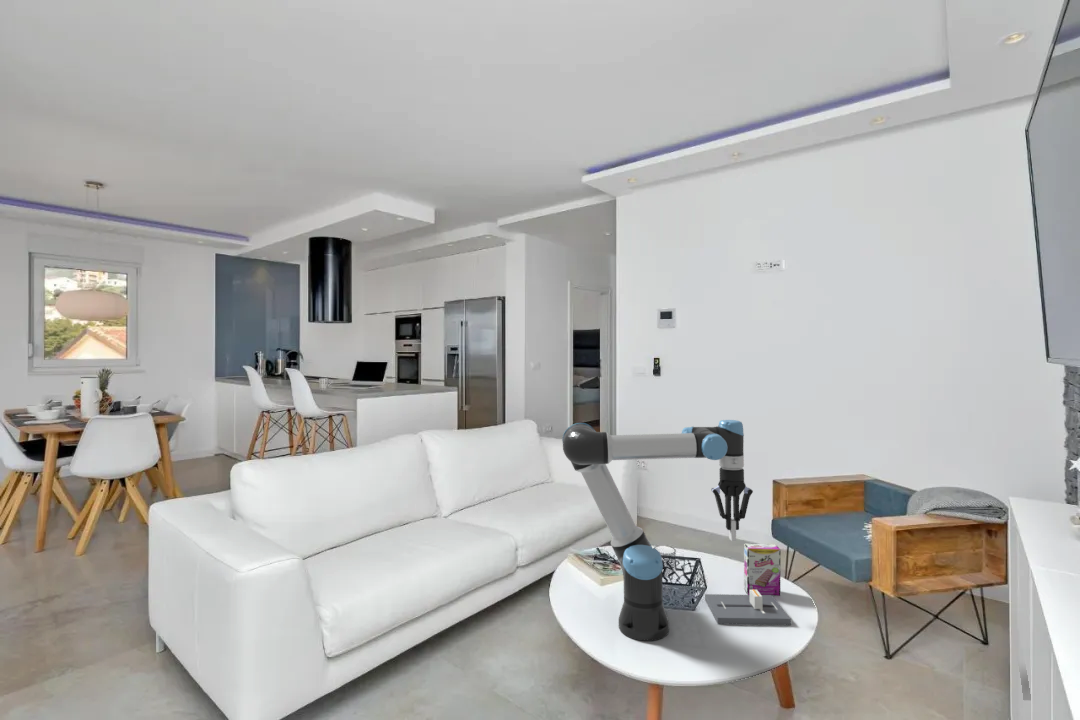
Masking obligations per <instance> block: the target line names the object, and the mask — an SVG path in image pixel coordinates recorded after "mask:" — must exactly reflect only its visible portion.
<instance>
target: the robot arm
mask: <svg viewBox="0 0 1080 720" xmlns="http://www.w3.org/2000/svg"><path fill="white" fill-rule="evenodd" d="M744 436H745V433H744V424H743V422H742V421H740V420H738V419H735V420H734V419H721V420H719V421H718V426H688V427H687V426H686V427H684V428H682V430H681V433H649V434H645V433H644V434H612V435H611V434H610V433H608V431H602V432H601V431H596V430H595V429H594V427H593V426H591V425H590V424H588V423H584V422H577V423H574V424H571V425H570V426H569V427H567V428H566V429H565V431H564V432H563V435H562V438H561V439H562V440H561V441H562V452H563V454H564V455H565V457H566V458H567V459H568V461H570V463H571V465H572V468H574V469H573V470H574V471H576V472H577V473H581V475H582V477H583V479H584V482H585V483H586V485H587V488H588V489H589V492H590V494H591V496H592V497H593V500H594V502H595V504H596V506H597V509H598V510H599V512H600V515H601V517H602V518H603V521H604V522H605V524H606V526H607V528H608V531H609V533H610V536H611V537H612V538H611V540H610V545H611V547H612V550H613V552H614V554H615V555H616V558H617V559H618V562H619V564H620V568H621V573H622V576H623V577H622V578H623V602H622V603H623V604H622V607H621V610H620V612H619V616H618V629H619V631H620V632H621V633H622V634H623V635H624V636H626V637H629V638H631V639H634V640H638V641H644V642H646V641H647V642H648V641H649V642H650V641H652V642H653V641H657V640H661V639H664V638H665V637H666V636H667V635H669V632H670V622H669V619H668V615H667V612H666V610H665V607H664V606H665V605H664V603H663V596H664V595H663V568H664V564H663V559H662V558H663V557H662V555H661V553H660V551H659V550H658V549H656V548H654V547H653V546H652V544H651V543H650V541H649V540H648V538H647V536H646V533H645V532H644V530H643V528H642V527H639V526H637V524H636V523H635V521H634V519H633V517H632V516H631V513H630V511H629V509H628V507H627V505H626V502H625V501H624V499H623V496H622V495H621V493H620V491H619V488H618V487H617V484H616V483H615V480H614V478H613V476H612V474H611V472H610V470H609V468H608V465H609V464H610V463H611V462H612V461H628V460H632V461H634V460H635V461H636V460H637V461H638V460H665V459H666V460H667V459H669V460H670V459H672V460H673V459H705V458H706V459H707V460H711V461H719V467H720V468H719V481H718V484H717V486H716V487H711V492H712V493H713V495H714V499H715V501H716V505H717V509H718V513H719V516H720V517H721V519H724V520H725V528H726V530H727V531H728V539H729V540H730V541H731V542H737V531H739V530H740V521H741V520H742V519H743V520H745V518H746V514H747V510H748V505H749V503H750V502H749V501H750V497H751V495H752V494H753V493H754V490H753V489H752V488H750V487H748V486H746V483H745V470H744V465H745V463H744V461H745V460H744V457H745V456H744V442H745V441H744V439H745V438H744ZM721 492H722V493H723V494H724V503H725V504H724V506H723V502H722V498H721V495H720V494H721ZM742 493H743V495H742V500H741V503H740V496H741V494H742ZM732 504H733V505H732ZM732 507H733V508H732ZM732 509H733V510H732ZM732 511H733V513H732ZM732 515H733V518H732Z"/></svg>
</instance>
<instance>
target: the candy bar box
mask: <svg viewBox="0 0 1080 720" xmlns="http://www.w3.org/2000/svg"><path fill="white" fill-rule="evenodd" d="M743 589H744V591H745V593H746V595H749V590H753V589H754V590H758V592H759V593H760V594H761V595H772V596H773V597H775V596H776V597H778V596H779V597H780V596H781V548H780V547H779V546H778V545H777V544H769V543H767V544H766V543H744V544H743Z"/></svg>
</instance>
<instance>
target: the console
mask: <svg viewBox="0 0 1080 720" xmlns="http://www.w3.org/2000/svg"><path fill="white" fill-rule="evenodd" d="M761 596H762V605H763V609H754V607H753V606H752V604H751V603H750V595H748V594H721V593H719V594H717V593H715V594H712V593H711V594H710V593H709V594H707V593H705V594H704V601H705V603H706V604H707V605H706V606H707V607H708V608H709V611H710V612H711V614H712V616H713V618H714V620H715V621H716V623H717V625H741V626H742V625H747V626H748V625H749V626H751V625H752V626H792V618H791V617H790V615H789V614H788V613H787V612H786V611H785V610H784V608H783V607H782V606H781V605H780V603H779V602H778V601H777V600H776V599H775V596H772V595H761Z"/></svg>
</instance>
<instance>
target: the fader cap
mask: <svg viewBox="0 0 1080 720" xmlns="http://www.w3.org/2000/svg"><path fill="white" fill-rule="evenodd" d="M749 595H750V603H751V604H752V606H753V607H754V609H763V605H762V596H761V594H760V593H759V592H758V590H754V589H753V590H749Z"/></svg>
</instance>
